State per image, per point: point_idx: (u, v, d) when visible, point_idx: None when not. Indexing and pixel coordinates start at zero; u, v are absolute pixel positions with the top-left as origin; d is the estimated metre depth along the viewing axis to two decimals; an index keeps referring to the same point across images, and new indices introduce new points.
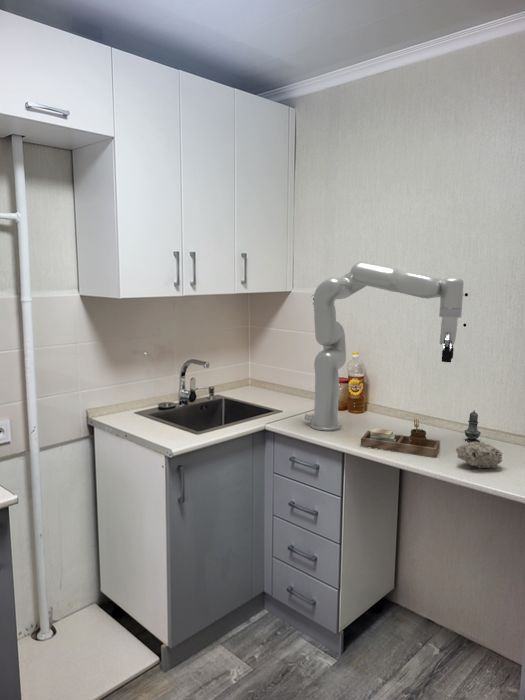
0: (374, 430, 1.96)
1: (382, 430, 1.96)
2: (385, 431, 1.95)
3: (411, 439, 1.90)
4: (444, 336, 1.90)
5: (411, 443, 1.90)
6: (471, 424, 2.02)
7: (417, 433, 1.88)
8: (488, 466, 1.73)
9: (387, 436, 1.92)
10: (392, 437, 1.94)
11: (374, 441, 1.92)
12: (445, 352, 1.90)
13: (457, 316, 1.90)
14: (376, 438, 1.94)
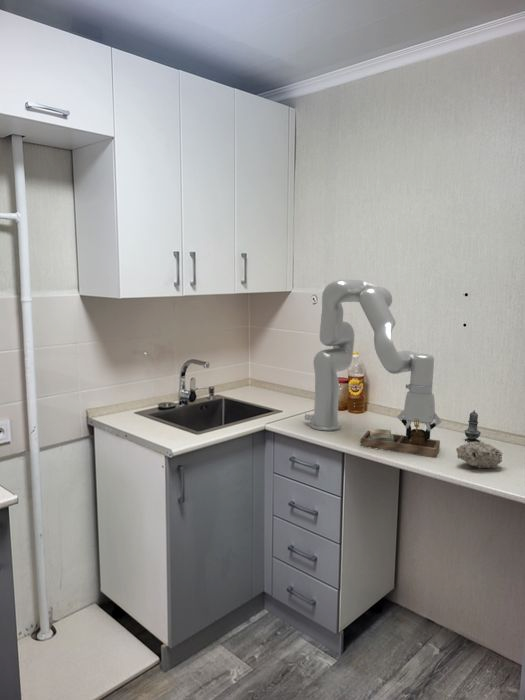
0: (373, 430, 1.96)
1: (380, 430, 1.96)
2: (384, 431, 1.95)
3: (411, 439, 1.90)
4: (434, 414, 1.86)
5: (411, 443, 1.90)
6: (471, 424, 2.02)
7: (417, 433, 1.88)
8: (488, 466, 1.73)
9: (387, 436, 1.92)
10: (391, 437, 1.94)
11: (374, 441, 1.92)
12: (429, 431, 1.88)
13: None
14: (376, 438, 1.93)
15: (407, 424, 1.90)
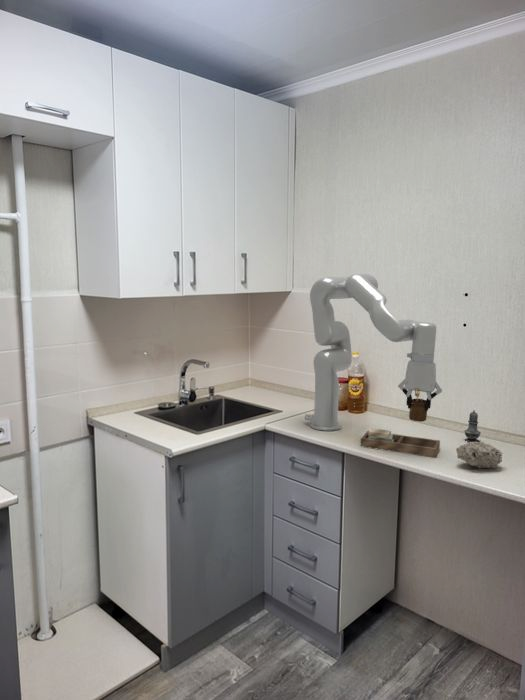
0: (372, 430, 1.96)
1: (380, 430, 1.96)
2: (383, 431, 1.95)
3: (411, 408, 1.89)
4: (435, 383, 1.85)
5: (411, 412, 1.89)
6: (470, 424, 2.02)
7: (418, 402, 1.87)
8: (488, 466, 1.73)
9: (385, 436, 1.92)
10: (390, 437, 1.93)
11: (374, 441, 1.92)
12: (430, 401, 1.87)
13: None
14: (374, 438, 1.93)
15: (408, 393, 1.89)
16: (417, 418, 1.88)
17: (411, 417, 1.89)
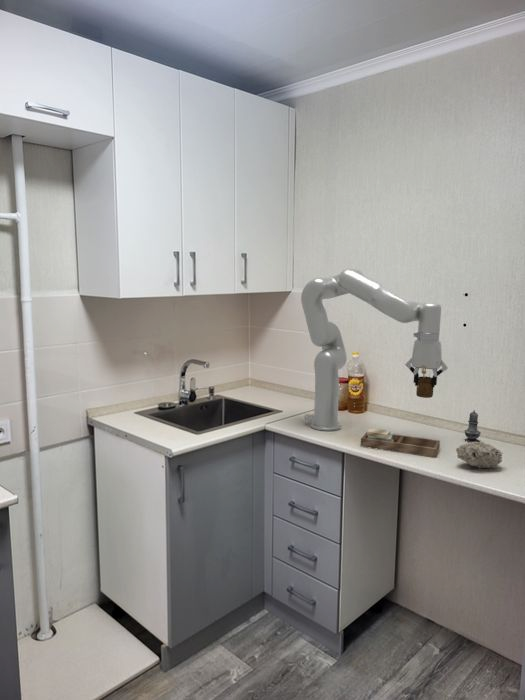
0: (371, 430, 1.96)
1: (379, 430, 1.96)
2: (382, 431, 1.95)
3: (418, 385, 1.98)
4: (440, 360, 1.94)
5: (418, 389, 1.98)
6: (471, 424, 2.02)
7: (424, 379, 1.96)
8: (488, 466, 1.73)
9: (384, 436, 1.92)
10: (389, 437, 1.93)
11: (374, 441, 1.92)
12: (436, 378, 1.96)
13: None
14: (373, 438, 1.93)
15: (415, 371, 1.98)
16: (424, 394, 1.97)
17: (418, 394, 1.98)
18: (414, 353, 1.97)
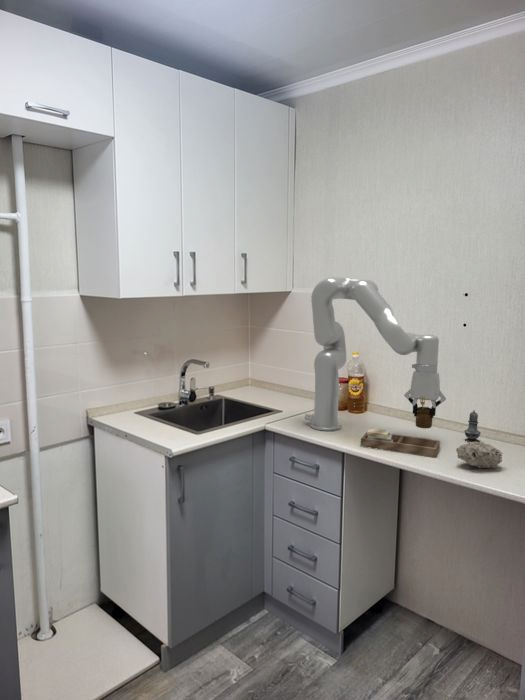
0: (371, 430, 1.96)
1: (379, 430, 1.96)
2: (382, 431, 1.95)
3: (417, 416, 2.00)
4: (439, 392, 1.96)
5: (418, 420, 2.00)
6: (470, 424, 2.02)
7: (423, 410, 1.98)
8: (488, 466, 1.73)
9: (384, 436, 1.92)
10: (389, 437, 1.93)
11: (374, 441, 1.92)
12: (435, 408, 1.98)
13: None
14: (373, 438, 1.93)
15: (414, 402, 2.00)
16: (423, 425, 1.99)
17: (417, 424, 2.00)
18: (413, 384, 1.98)
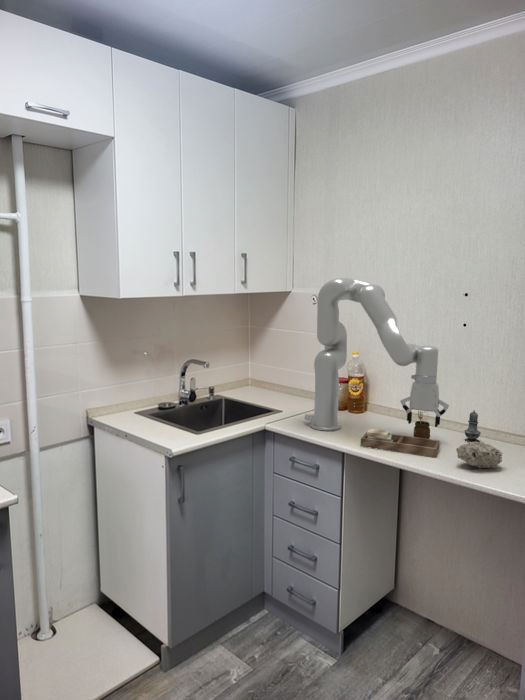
0: (371, 430, 1.96)
1: (379, 430, 1.96)
2: (382, 431, 1.95)
3: (415, 430, 2.01)
4: (438, 403, 1.97)
5: (415, 434, 2.01)
6: (471, 424, 2.02)
7: (421, 425, 1.99)
8: (488, 466, 1.73)
9: (384, 436, 1.92)
10: (389, 437, 1.93)
11: (374, 441, 1.92)
12: (439, 417, 1.98)
13: None
14: (373, 438, 1.93)
15: (409, 410, 2.01)
16: None
17: None
18: (412, 395, 1.99)
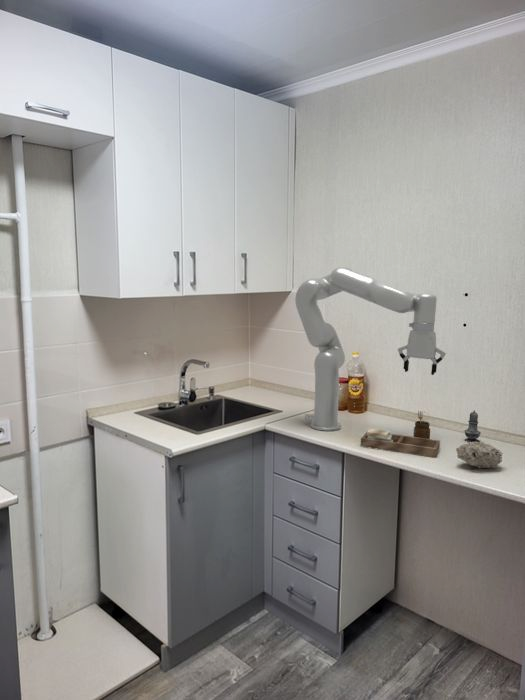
0: (371, 430, 1.96)
1: (379, 430, 1.96)
2: (382, 431, 1.95)
3: (415, 430, 2.01)
4: (435, 350, 1.98)
5: (415, 434, 2.01)
6: (471, 424, 2.02)
7: (421, 425, 1.99)
8: (488, 466, 1.73)
9: (383, 436, 1.92)
10: (389, 438, 1.93)
11: (374, 441, 1.92)
12: (436, 365, 1.99)
13: None
14: (373, 438, 1.93)
15: (405, 358, 2.02)
16: None
17: None
18: (409, 343, 2.00)
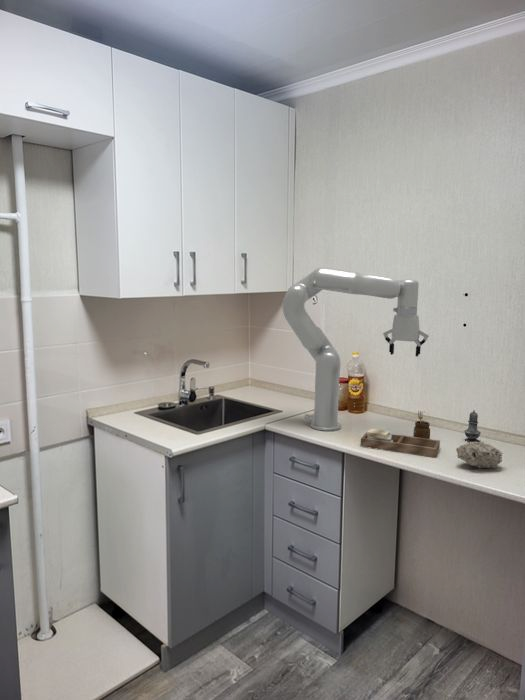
0: (371, 430, 1.96)
1: (379, 430, 1.96)
2: (382, 432, 1.95)
3: (415, 430, 2.01)
4: (418, 333, 2.08)
5: (415, 434, 2.01)
6: (470, 424, 2.02)
7: (421, 425, 1.99)
8: (488, 466, 1.73)
9: (383, 437, 1.92)
10: (389, 438, 1.93)
11: (374, 441, 1.92)
12: (420, 347, 2.09)
13: None
14: (372, 438, 1.93)
15: (391, 341, 2.12)
16: None
17: None
18: (394, 327, 2.10)
